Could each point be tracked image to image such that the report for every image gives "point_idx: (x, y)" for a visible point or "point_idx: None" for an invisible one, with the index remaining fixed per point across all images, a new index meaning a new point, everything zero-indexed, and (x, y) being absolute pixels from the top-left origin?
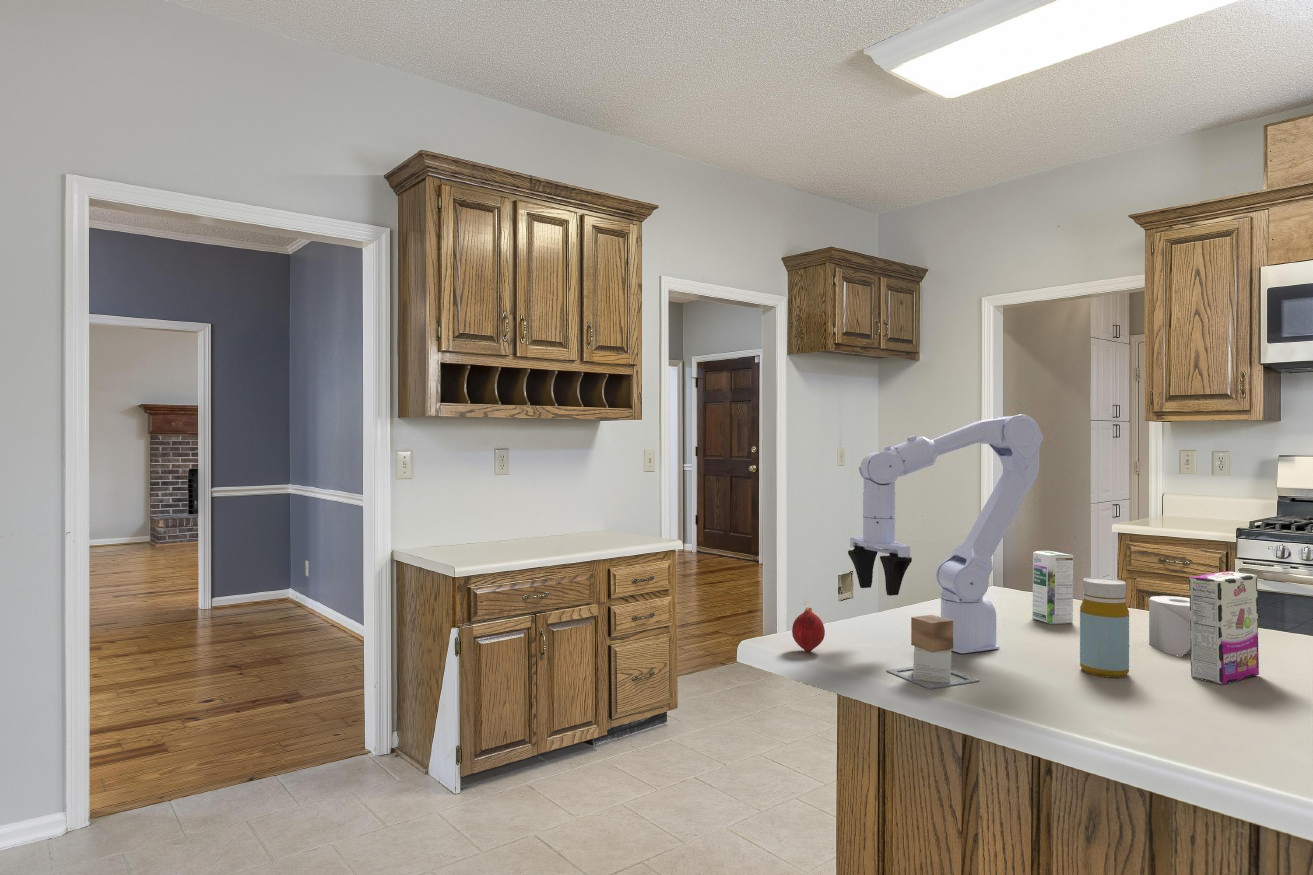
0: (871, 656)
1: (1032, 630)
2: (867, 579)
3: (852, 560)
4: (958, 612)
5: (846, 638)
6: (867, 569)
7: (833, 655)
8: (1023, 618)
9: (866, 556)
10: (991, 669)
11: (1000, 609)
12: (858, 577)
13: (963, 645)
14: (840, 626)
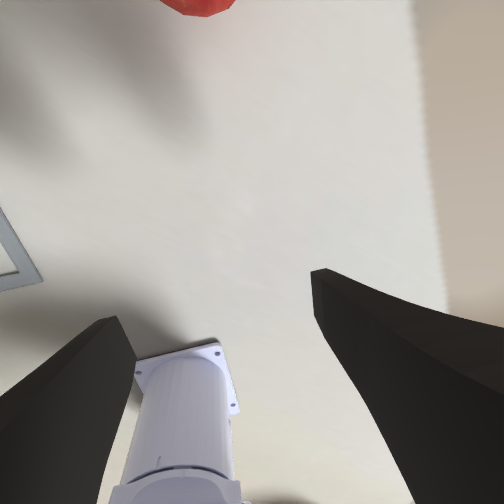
0: (125, 167)
1: (268, 491)
2: (330, 324)
3: (502, 332)
4: (132, 451)
5: (310, 188)
6: (366, 372)
7: (142, 49)
8: (332, 500)
9: (447, 481)
10: (15, 368)
11: (386, 493)
12: (353, 284)
13: (148, 382)
14: (412, 227)
